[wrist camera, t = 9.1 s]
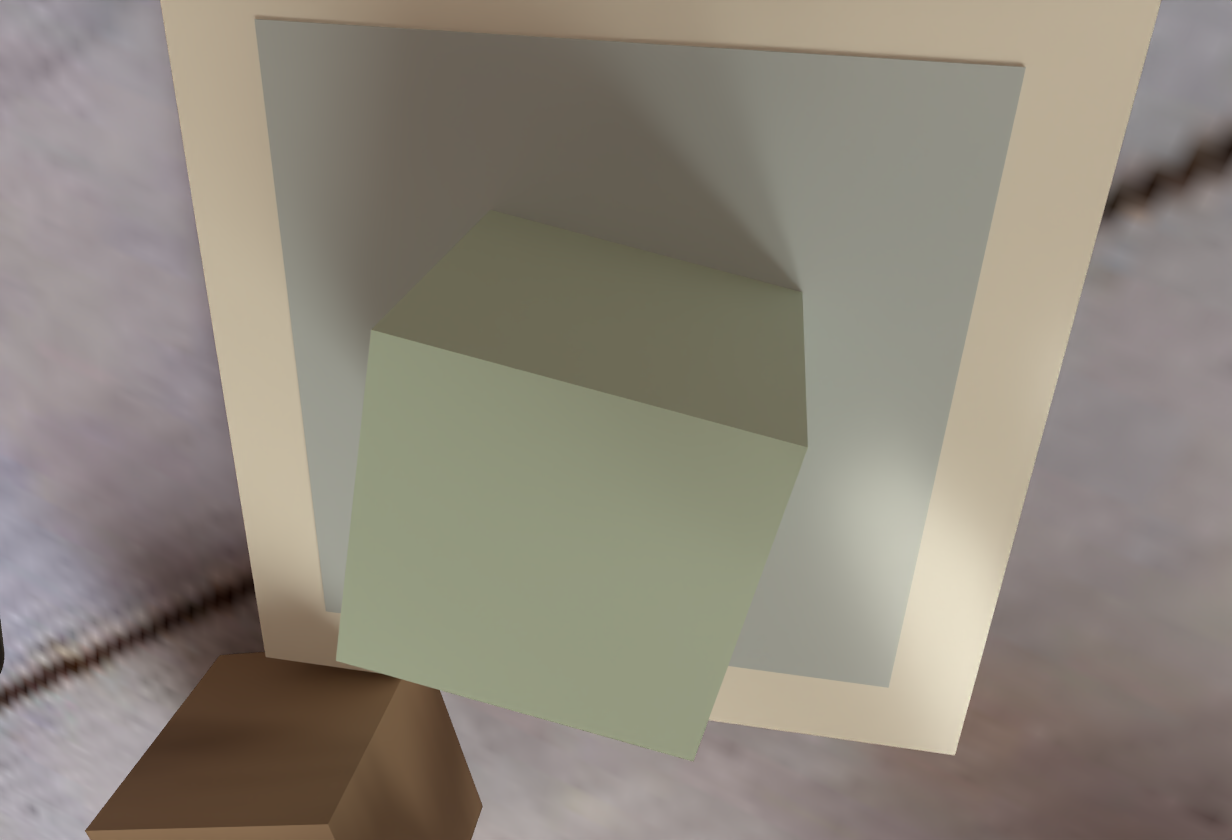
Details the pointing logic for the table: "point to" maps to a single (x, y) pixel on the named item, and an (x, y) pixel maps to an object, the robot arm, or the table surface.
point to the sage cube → (572, 479)
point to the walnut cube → (298, 761)
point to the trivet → (693, 232)
